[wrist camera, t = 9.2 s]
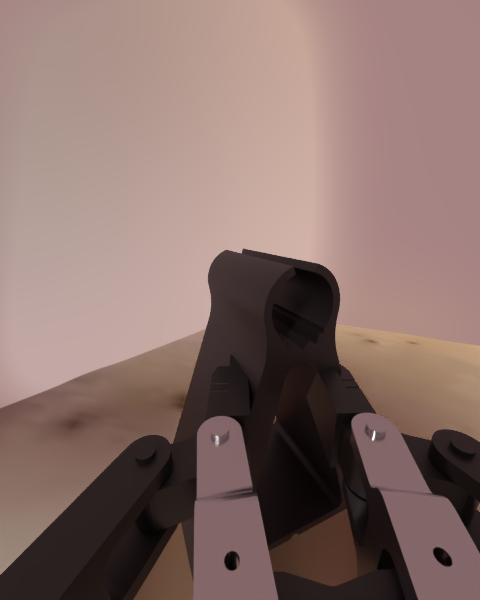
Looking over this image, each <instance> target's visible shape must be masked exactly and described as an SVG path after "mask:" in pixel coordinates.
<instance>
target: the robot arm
mask: <svg viewBox="0 0 480 600" xmlns="http://www.w3.org/2000/svg"><path fill="white" fill-rule="evenodd" d="M340 368H341V372H342V373H339V374H338V373H337V371H336V369H335V367H334V366H332V367H329V368H326V369H323V370H320V371H318V372H317V374H316V376H315V378H314V381H313V383H312V385H311V387H310V390H309V392H308V394H307V396H306V397H307V400H308V403H309V406H310V409H311V412H312V415H313V418H314V421H315V424H316V427H317V430H318V433H319V436H320V439H321V442H322V445H323V448H324V451H325V454H326V457H327V459H328V462H329V465H330V467H341V470H342V473H343V481H342V488H343V493H344V498H345V503H346V507H347V512H348V517H349V522H350V526H351V531H352V536H353V540H354V545H355V550H356V556H357V576H358V577H357V578H354V579H352V580H350V581H347V582H345V583H342V584H340V585H337V586H329V585H325V584H322V583H319V582H316V581H313V580H309V579H306V578H303V577H300V576H297V575H293V574H290V573H287V572H284V571H283V572H273V571H272V566H271V561H270V556H269V551H268V546H267V541H266V536H265V531H264V526H263V521H262V516H261V511H260V506H259V501H258V497H257V493H256V490H253V486H252V481H251V476H250V470H249V469H251V439H250V404H249V383H248V377H247V376H246V374H245V373H244V371H243V370H242V368H241V367H240V366H239V364H238V363H237V361H236V360H235V358H234V357H233V356H232V355H230V366H218V367H217V369H216V370H215V371H214V372H213V374H212V379H211V386H210V392H209V398H208V405H207V411H206V418H205V422H204V423H203V424H202V425H201V426H200V428H199V430H198V432H197V433H196V434H195V435H194V436H192V437H190V438H188V439H186V440H183V441H180V442H177V443H173V444H170V443H169V442H168V440H167V439H166V438H164V437H162V436H159V435H149V436H145V437H142V438H139V439H138V440H136V441H134V442H133V443H131V444H130V445H129V446H128V447H127V448H126V449H125V450H124V451H123V452H122V453H121V454H120V455H119V456H118V457H117V458H116V459H115V460H114V461H113V462H112V463H111V464H110V465H109V466H108V467H107V468H106V469H105V470H104V471H103V472H102V473H101V474H100V475H99V476H98V477H97V478H96V479H95V480H94V481H93V482H92V483H91V484H90V485H89V486H88V487H87V488H86V489H85V490H84V491H83V492H82V493H81V494H80V495H79V496H78V497H77V499H76V500H75V501H74V502H73V503H72V504H71V505H70V506H69V507H68V508H67V509H66V510H65V511H64V512H63V513H62V514H61V515H60V516H59V517H58V518H57V519H56V520H55V521H54V522H53V523H52V524H51V525H50V526H49V527H48V528H47V529H46V530H45V531H44V532H43V533H42V534H41V535H40V536H39V537H38V538H37V539H36V540H35V541H34V542H33V543H32V544H31V545H30V546H29V547H28V548H27V549H26V550H25V551H24V552H23V553H22V554H21V555H20V556H19V557H18V558H17V559H16V560H15V561H14V562H13V563H12V564H11V565H10V566H9V567H8V568H7V569H6V570H5V571H4V572H3V573H2V574H1V575H0V600H134V598H135V596H136V595H137V593H138V591H139V590H140V588H141V586H142V585H143V583H144V581H145V580H146V578H147V576H148V575H149V573H150V571H151V570H152V568H153V566H154V565H155V563H156V561H157V560H158V558H159V556H160V555H161V553H162V552H163V550H164V548H165V547H166V545H167V543H168V542H169V540H170V538H171V537H172V535H173V533H174V532H175V530H176V528H177V526H178V524H179V523H181V522H184V521H186V520H189V519H191V518H194V581H193V600H480V512H479V511H478V510H477V507H478V504H479V502H480V442H478V441H477V440H475V439H473V438H472V437H470V436H468V435H466V434H463V433H461V432H458V431H454V430H447V429H444V430H438V431H436V432H435V433H434V434H433V436H432V439H431V440H426V439H422V438H418V437H413V436H409V435H405V434H402V433H400V431H399V429H398V428H397V427H396V426H395V425H394V424H393V423H392V422H391V421H390V420H388V419H386V418H385V417H382V416H380V415H377V414H376V413H375V411H374V409H373V408H372V406H371V405H370V403H369V402H368V400H367V398H366V397H365V395H364V394H363V392H362V391H361V389H360V388H359V386H358V384H357V383H356V381H354V378H353V376H352V375H351V373H350V372H349V370H347V369H346V368H345V367H343V366H342V365H341V364H340Z"/></svg>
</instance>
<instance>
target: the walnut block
mask: <svg viewBox="0 0 480 600" xmlns="http://www.w3.org/2000/svg"><path fill="white" fill-rule="evenodd" d="M269 556H270V561H271V566H272V571H273V572H283V571H284V572H287V573H290V574H293V575H297V576H300V577H303V578H306V579H309V580H313V581H316V582H319V583H322V584H325V585H329V586H337V585H340V584H342V583H345V582H347V581H350V580H352V579H354V578H357V577H358V576H357V556H356V550H355V545H354V540H353V536H352V531H351V526H350V522H349V517H348V512H347V509H345V510H343V511H342V512H340V513H338V514H336V515H334V516H332V517H331V518H329V519H327V520H325V521H323V522H321V523H320V524H318V525H316V526H314V527H312V528H310V529H309V530H307V531H305V532H303V533H301V534H300V535H298V534H294V535H293V536H292V537H291V539H290V540H289V541H287V542H285V543H283V544H281V545H279V546H278V547H276V548H274V549H272V550H270V551H269ZM134 600H193V580H192V575H191V570H190V565H189V560H188V555H187V550H186V545H185V540H184V536H183V531H182V526H181V523H179V524H178V526H177V528H176V530H175V532H174V533H173V535H172V537H171V538H170V540H169V542H168V543H167V545H166V547H165V548H164V550H163V552H162V553H161V555H160V556H159V558H158V560H157V561H156V563H155V565H154V566H153V568H152V570H151V571H150V573H149V575H148V576H147V578H146V580H145V581H144V583H143V585H142V586H141V588H140V590H139V591H138V593H137V595H136V596H135V598H134Z"/></svg>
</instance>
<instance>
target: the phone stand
mask: <svg viewBox="0 0 480 600" xmlns="http://www.w3.org/2000/svg"><path fill="white" fill-rule="evenodd" d="M208 283H209V288H210V293H211V312H210V317H209V321H208V324H207V327H206V331H205V334H204V338H203V341H202V345H201V348H200V352H199V355H198V359H197V362H196V366H195V369H194V373H193V376H192V380H191V383H190V387H189V390H188V394H187V397H186V400H185V404H184V407H183V411H182V414H181V418H180V421H179V425H178V428H177V432H176V435H175V439H174V442H173V443H177V442H180V441H183V440H186V439H188V438H190V437H192V436H194V435H195V434H196V433H197V432H198V430H199V428H200V426H201V425H202V424H203V423H204V422H205V418H206V411H207V405H208V398H209V392H210V386H211V379H212V374H213V372H214V371H215V370H216V369H217V367H218V366H230V355H232V356H233V357H234V358H235V360H236V361H237V363H238V364H239V366H240V367H241V368H242V370H243V371H244V373H245V374H246V376H247V377H248V383H249V404H250V439H251V469H249V470H250V476H251V481H252V486H253V490H256V493H257V497H258V501H259V506H260V511H261V516H262V521H263V526H264V531H265V536H266V541H267V546H268V551H270V550H272V549H274V548H276V547H278V546H279V545H281V544H283V543H285V542H287V541H289V540H290V539H291V537H292V536H293V535H294V534H298V535H300V534H301V533H303V532H305V531H307V530H309V529H310V528H312V527H314V526H316V525H318V524H320V523H321V522H323V521H325V520H327V519H329V518H331V517H332V516H334V515H336V514H338V513H340V512H342V511H343V510H345V509H347V507H346V503H345V498H344V493H343V488H342V481H343V473H342V470H341V467H330V465H329V462H328V459H327V457H326V454H325V451H324V448H323V445H322V442H321V439H320V436H319V433H318V430H317V427H316V424H315V421H314V418H313V415H312V412H311V409H310V406H309V403H308V400H307V397H306V396H307V394H308V392H309V390H310V387H311V385H312V383H313V381H314V378H315V376H316V374H317V372H318V371H320V370H323V369H326V368H329V367H332V366H334V367H335V369H336V371H337V373H338V374H339V373H342V372H341V368H340V364H339V360H338V356H337V351H336V345H335V328H336V320H337V315H338V311H339V305H340V293H339V287H338V284H337V281H336V279H335V277H334V275H333V274H332V273H331V272H330V271H329V270H328V269H327V268H326V267H324V266H322V265H320V264H316V263H312V262H307V261H301V260H296V259H292V258H286V257H281V256H277V255H272V254H267V253H262V252H257V251H252V250H247V249H243V251H242V254H241V253H237V252H233V251H229V250H225V251H223V252H222V253H220V254H219V255H218V256H217V257H216V258H215V259H214V261H213V263H212V264H211V266H210V269H209V274H208ZM275 415H276V417H277V420H276V422H275V423H274V424H273V422H274V418H275ZM181 526H182V531H183V536H184V540H185V545H186V550H187V555H188V560H189V565H190V570H191V575H192V580H193V581H194V518H191V519H189V520H186V521H184V522H181Z"/></svg>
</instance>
